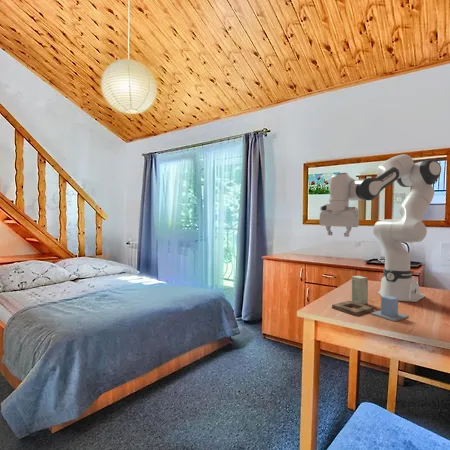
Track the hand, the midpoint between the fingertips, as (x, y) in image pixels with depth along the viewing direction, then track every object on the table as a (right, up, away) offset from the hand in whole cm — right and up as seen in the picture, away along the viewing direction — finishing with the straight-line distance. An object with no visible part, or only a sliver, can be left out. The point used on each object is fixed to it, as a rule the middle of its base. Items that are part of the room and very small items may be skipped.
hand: (338, 235), depth 148 cm
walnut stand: (+2, -32, -13) cm, 34 cm away
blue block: (+13, -32, -21) cm, 40 cm away
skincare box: (+9, -32, -2) cm, 33 cm away
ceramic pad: (+14, -32, -21) cm, 41 cm away
